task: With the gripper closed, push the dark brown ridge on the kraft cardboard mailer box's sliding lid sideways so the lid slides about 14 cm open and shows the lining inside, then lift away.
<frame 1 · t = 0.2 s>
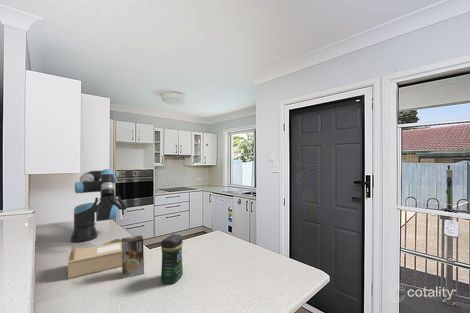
hand: (108, 221, 134), 16 cm above the countertop, tool tilted 35°, fingers open, 13 cm apart
mailer box: (101, 265, 111), on the countertop
coffee jar: (172, 279, 98), on the countertop
coffee box: (132, 273, 103), on the countertop
lid: (101, 246, 111), point 9 cm above the countertop, slide at 0.0 cm
carton: (110, 251, 131), on the countertop
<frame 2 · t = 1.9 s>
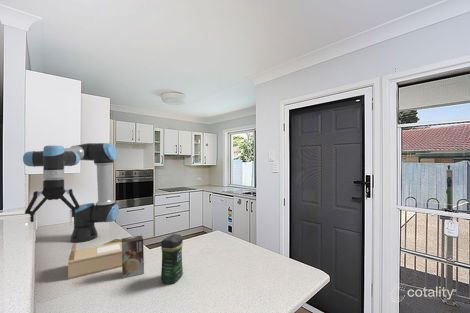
hand: (53, 226, 102), 23 cm above the countertop, tool pointing down, fingers open, 12 cm apart
nothing on the countertop moved.
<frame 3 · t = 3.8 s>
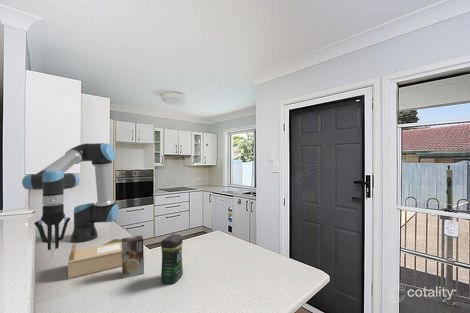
hand: (53, 256, 101), 9 cm above the countertop, tool pointing down, fingers closed
nothing on the countertop moved.
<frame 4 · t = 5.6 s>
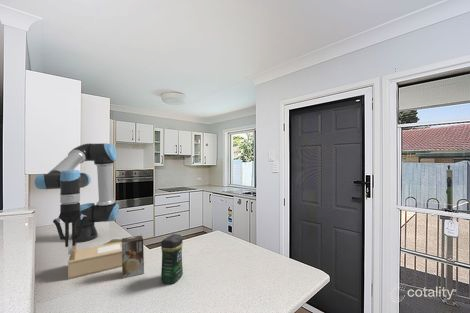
hand: (70, 253, 105), 9 cm above the countertop, tool pointing down, fingers closed
lid: (102, 246, 112), point 9 cm above the countertop, slide at 0.2 cm, touching gripper
everything else where it was.
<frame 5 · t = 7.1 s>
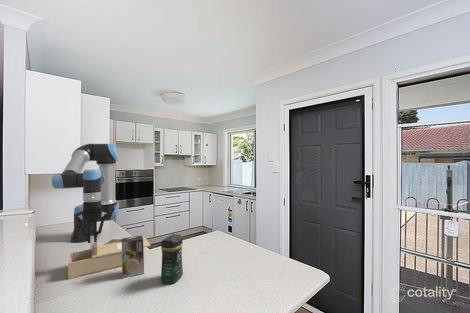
hand: (92, 248, 109), 9 cm above the countertop, tool pointing down, fingers closed
lid: (121, 242, 116), point 10 cm above the countertop, slide at 8.8 cm, touching gripper
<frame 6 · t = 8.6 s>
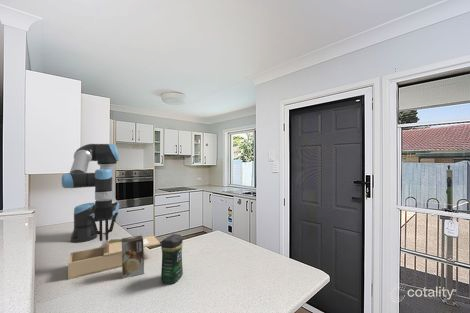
hand: (103, 246, 112), 9 cm above the countertop, tool pointing down, fingers closed
lid: (131, 240, 119), point 10 cm above the countertop, slide at 13.7 cm, touching gripper
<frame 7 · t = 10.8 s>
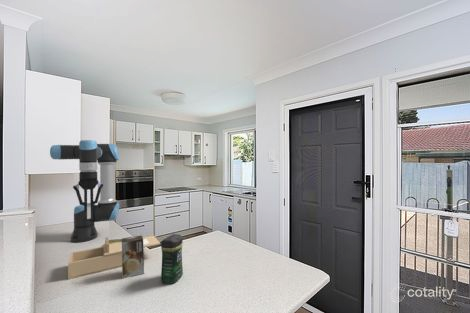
hand: (88, 218, 112), 24 cm above the countertop, tool pointing down, fingers closed
lid: (131, 240, 119), point 10 cm above the countertop, slide at 13.8 cm
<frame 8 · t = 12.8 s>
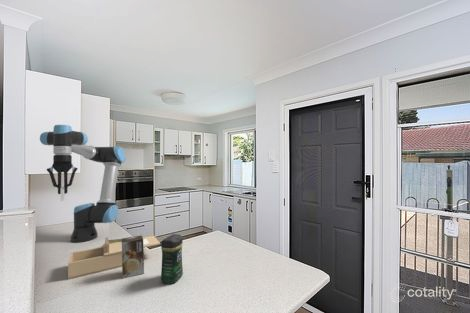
hand: (62, 200, 115), 32 cm above the countertop, tool pointing down, fingers closed
at the end: lid slide at 13.8 cm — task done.
